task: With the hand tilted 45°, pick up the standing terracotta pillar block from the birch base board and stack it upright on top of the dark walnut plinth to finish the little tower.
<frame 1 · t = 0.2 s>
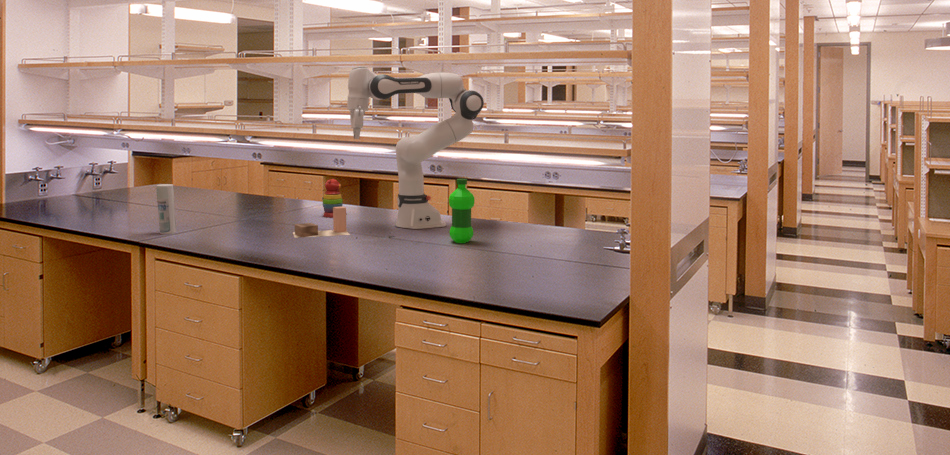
hand: (356, 138, 299), 39 cm above the table, tool pointing down, fingers open, 8 cm apart
birch base board: (321, 236, 288), on the table
stacking bear: (333, 216, 337), on the table
walnut plinth: (306, 234, 285), resting on birch base board
spray can: (168, 233, 292), on the table
terracotta pillar: (340, 231, 293), point 1 cm above the table, touching birch base board
plastic bottle: (461, 242, 280), on the table
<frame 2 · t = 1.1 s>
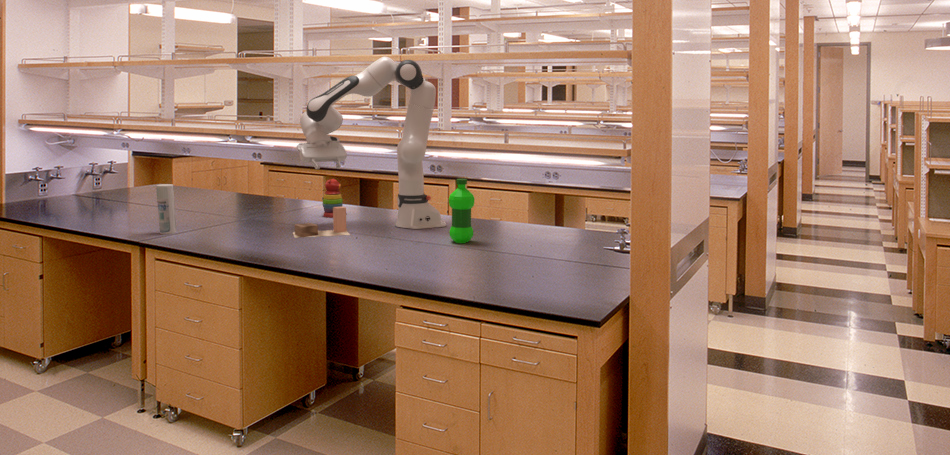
hand: (328, 168, 296), 27 cm above the table, tool tilted 45°, fingers open, 8 cm apart
nothing on the table moved.
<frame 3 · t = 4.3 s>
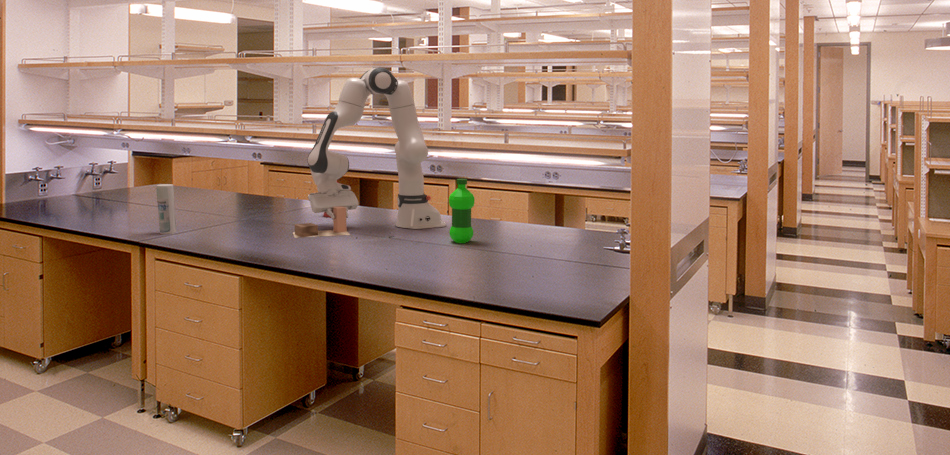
hand: (340, 217, 292), 7 cm above the table, tool tilted 45°, fingers closed on terracotta pillar, 4 cm apart
terracotta pillar: (340, 231, 293), point 1 cm above the table, touching birch base board, gripper
everything else where it was.
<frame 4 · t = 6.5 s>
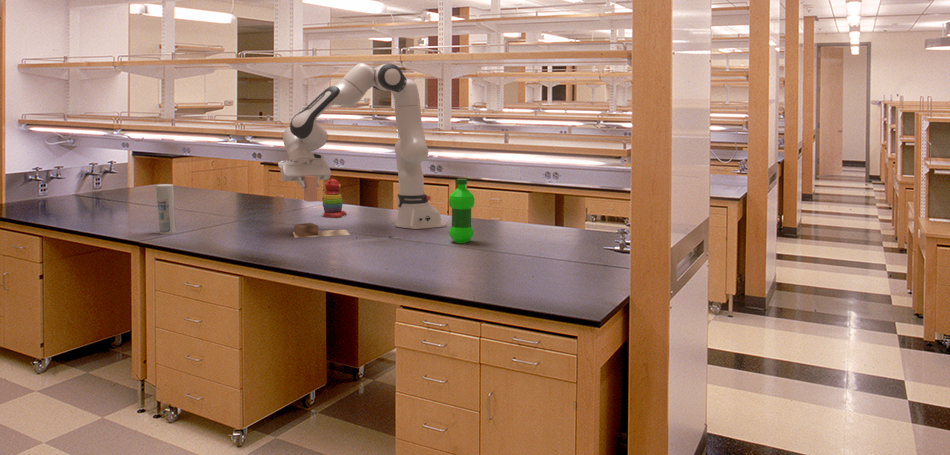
hand: (311, 187, 283), 20 cm above the table, tool tilted 45°, fingers closed on terracotta pillar, 4 cm apart
terracotta pillar: (310, 200, 284), point 15 cm above the table, touching gripper
everything else where it was.
when the fingers open (12 cm above the table, at t = 8.9 s): terracotta pillar stays where it is, resting on walnut plinth.
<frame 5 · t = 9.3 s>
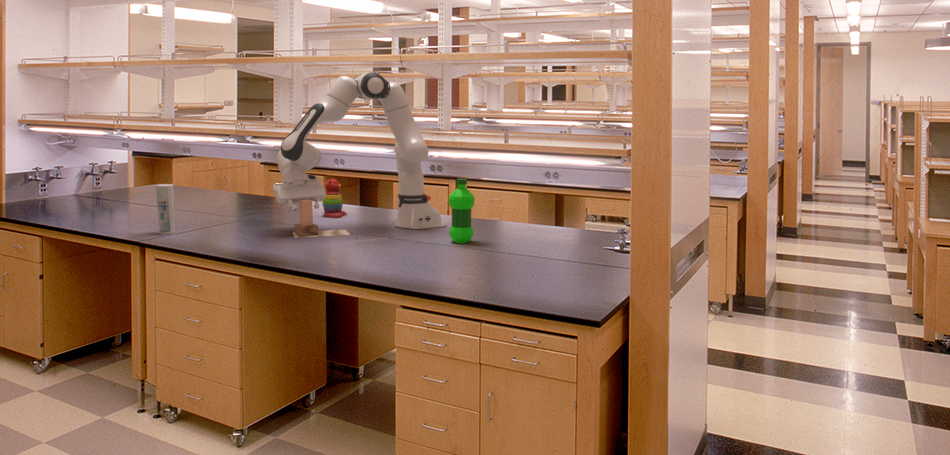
hand: (306, 208, 283), 12 cm above the table, tool tilted 45°, fingers open, 8 cm apart
terracotta pillar: (306, 224, 284), point 5 cm above the table, touching walnut plinth
everything else where it was.
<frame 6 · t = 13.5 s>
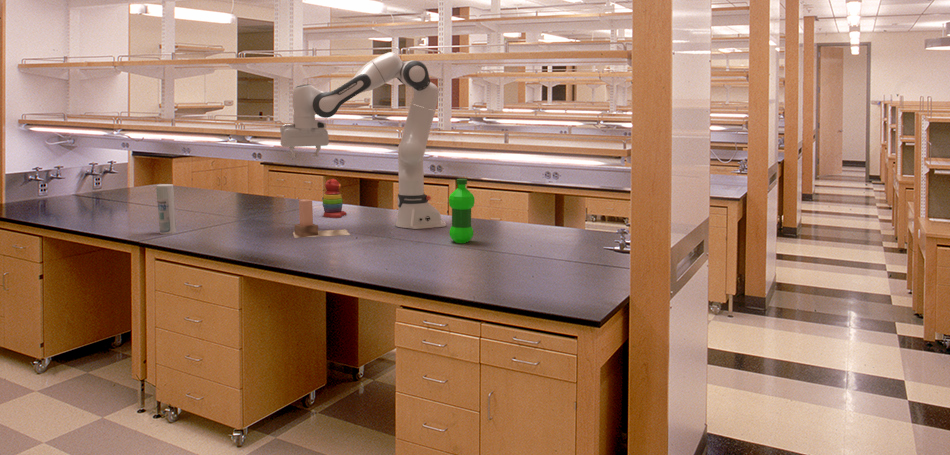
hand: (305, 157, 296), 31 cm above the table, tool pointing down, fingers open, 8 cm apart
nothing on the table moved.
at the end: terracotta pillar 0.1 cm off-centre on the walnut plinth, point 4.0 cm above the walnut plinth's base; terracotta pillar tilted 0°; the gripper is holding nothing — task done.
